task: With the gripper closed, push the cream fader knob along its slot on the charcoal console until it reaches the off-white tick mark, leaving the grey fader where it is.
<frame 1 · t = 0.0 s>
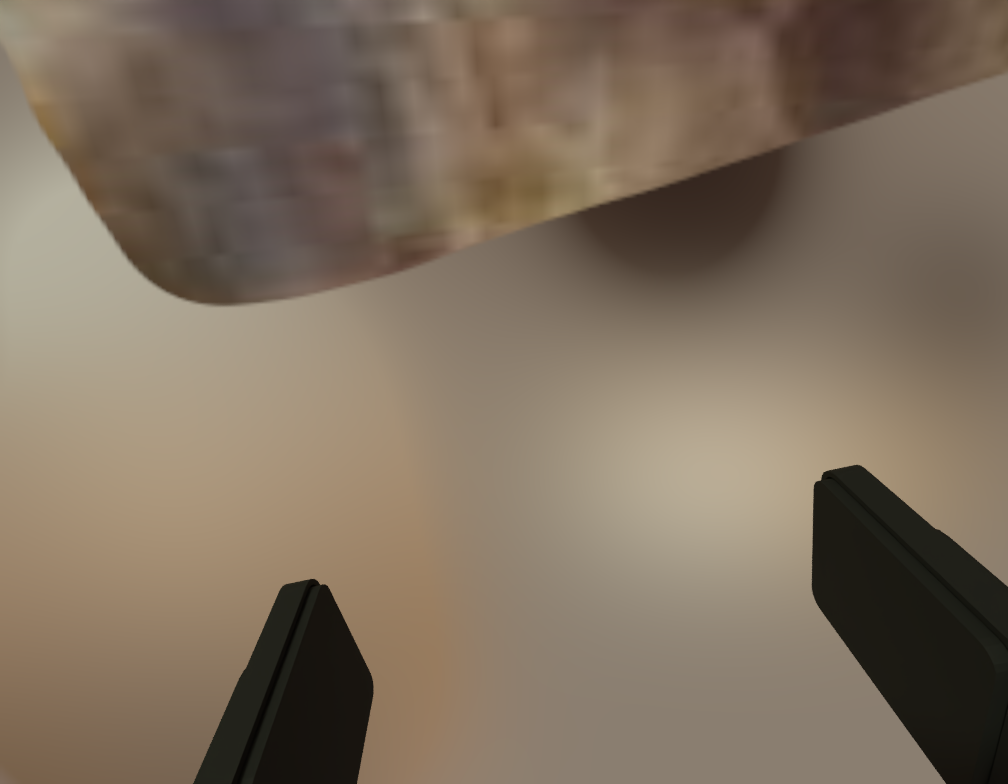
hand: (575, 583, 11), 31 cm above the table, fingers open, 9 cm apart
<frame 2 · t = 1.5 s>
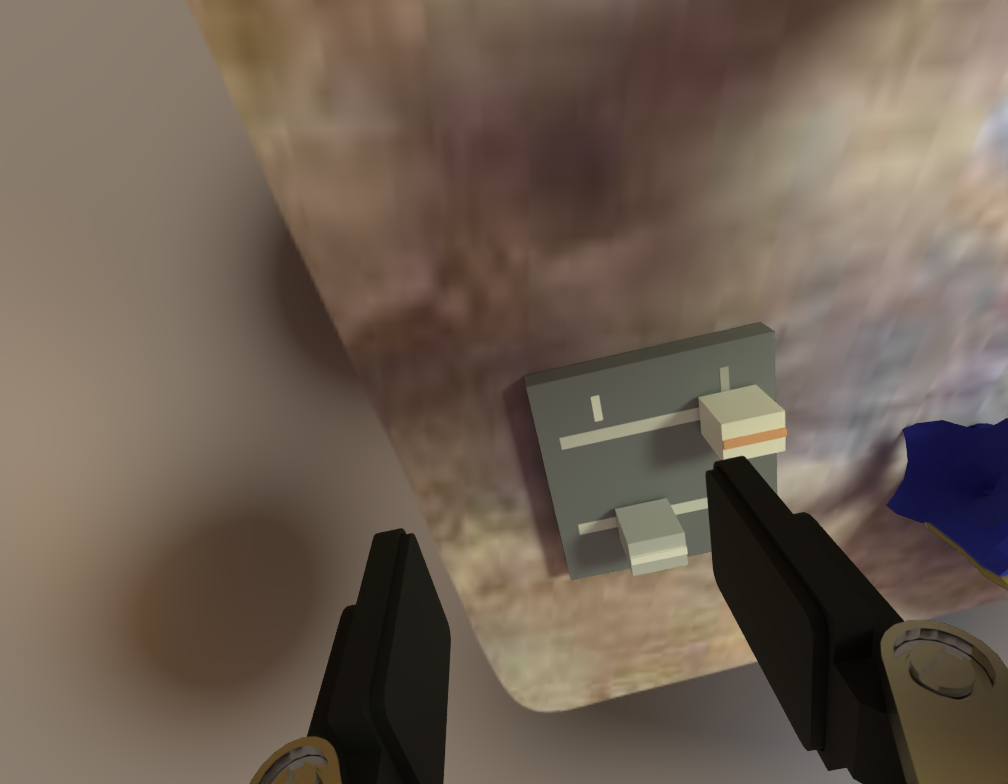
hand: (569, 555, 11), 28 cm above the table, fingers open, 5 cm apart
fader a: (740, 423, 37), point 4 cm above the table, slide at 0.0 cm
fader b: (650, 536, 41), point 4 cm above the table, slide at 0.0 cm
console: (654, 454, 43), on the table
bread: (999, 490, 46), on the table
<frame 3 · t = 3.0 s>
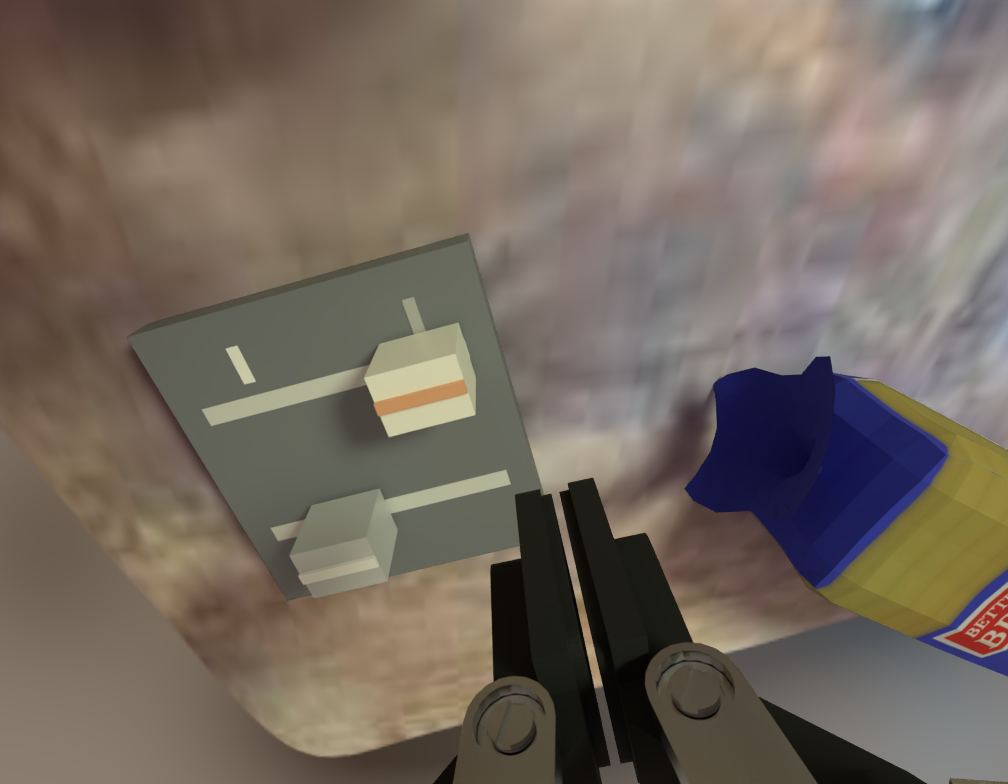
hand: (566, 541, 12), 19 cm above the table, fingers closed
fader a: (424, 378, 25), point 4 cm above the table, slide at 0.0 cm
fader b: (347, 542, 29), point 4 cm above the table, slide at 0.0 cm
console: (370, 429, 31), on the table
bread: (865, 464, 34), on the table
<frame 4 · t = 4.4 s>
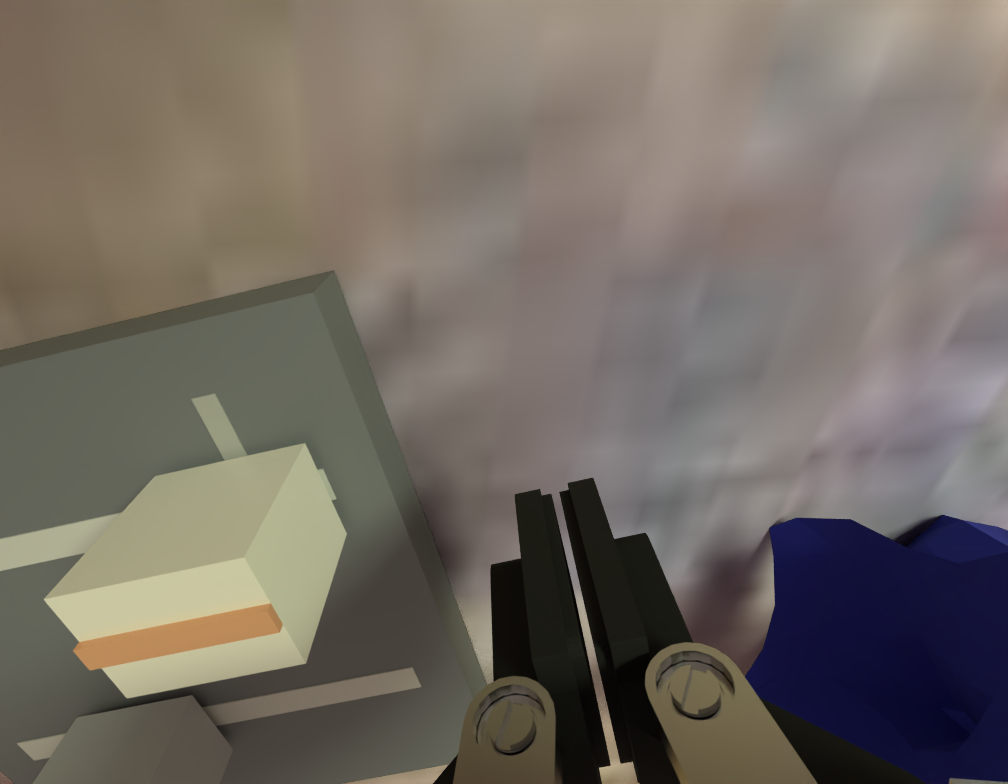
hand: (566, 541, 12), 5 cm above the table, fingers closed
fader a: (221, 563, 13), point 4 cm above the table, slide at 0.0 cm
console: (188, 585, 19), on the table
bread: (987, 638, 22), on the table
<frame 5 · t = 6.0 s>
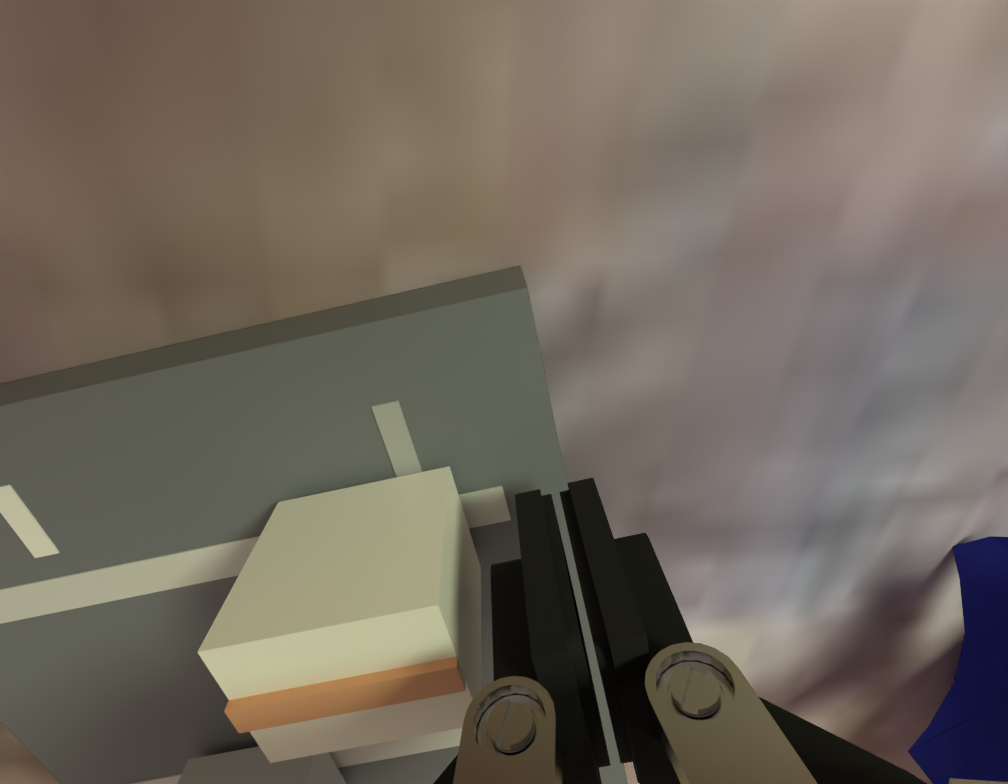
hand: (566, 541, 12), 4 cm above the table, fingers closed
fader a: (367, 604, 11), point 4 cm above the table, slide at 1.0 cm, touching gripper
console: (309, 611, 17), on the table
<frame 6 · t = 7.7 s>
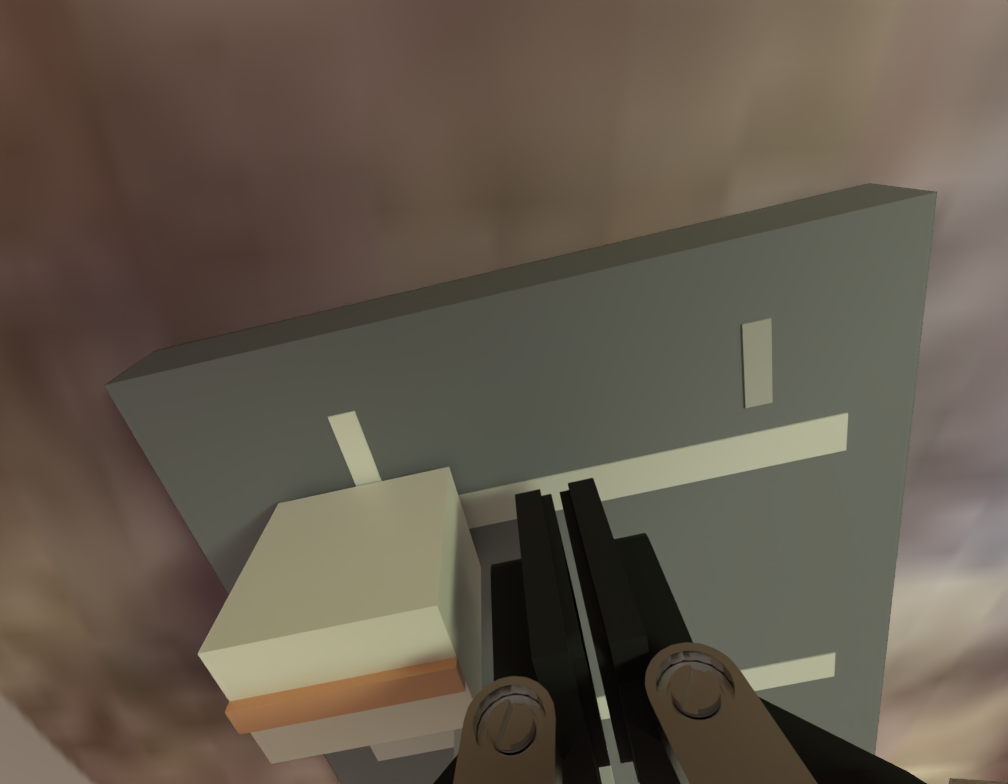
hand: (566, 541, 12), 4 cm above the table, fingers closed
fader a: (367, 605, 11), point 4 cm above the table, slide at 9.0 cm, touching gripper
console: (565, 560, 17), on the table
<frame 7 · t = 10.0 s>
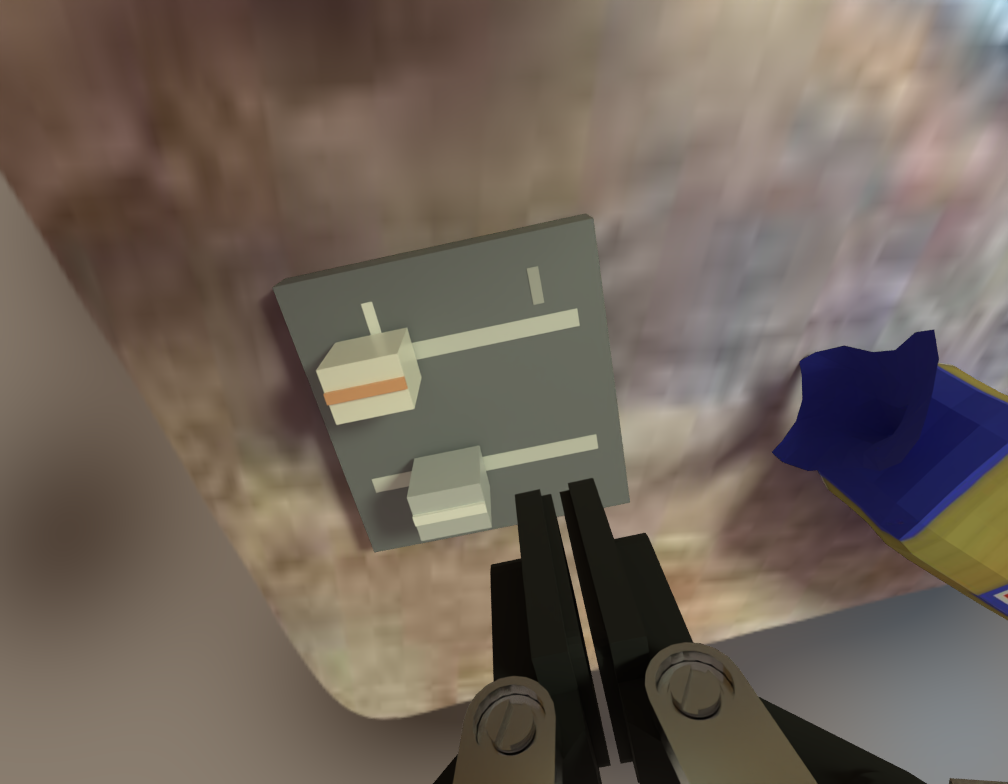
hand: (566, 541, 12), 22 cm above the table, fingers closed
fader a: (372, 375, 28), point 4 cm above the table, slide at 9.2 cm
fader b: (451, 492, 32), point 4 cm above the table, slide at 0.0 cm
console: (470, 392, 34), on the table
bread: (919, 449, 38), on the table
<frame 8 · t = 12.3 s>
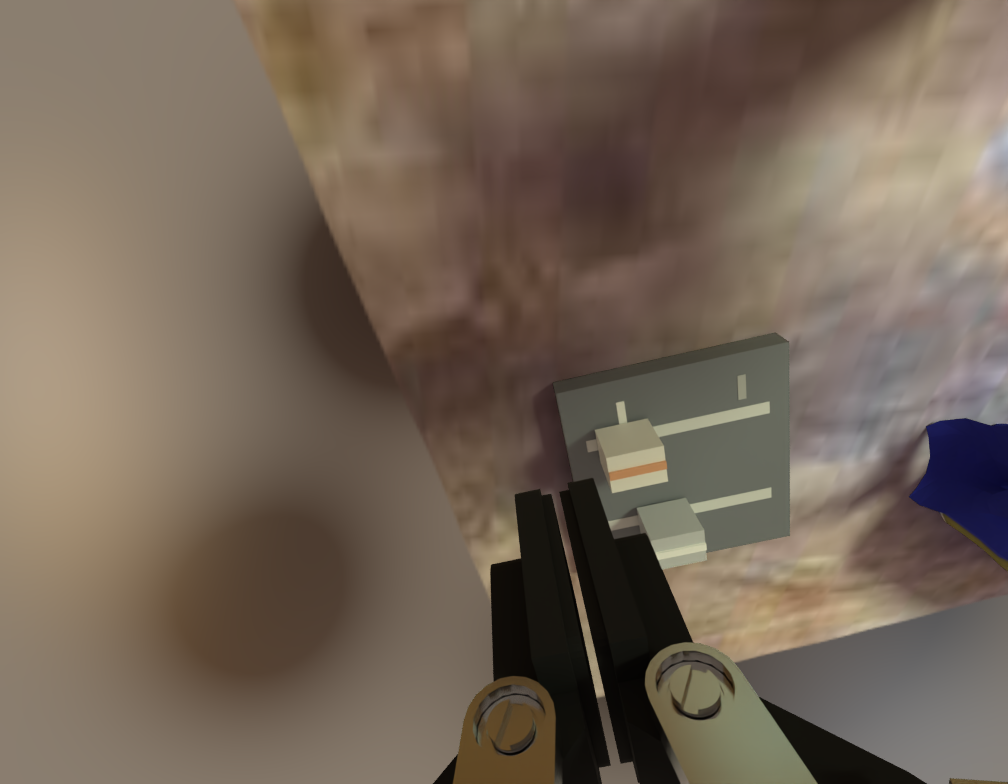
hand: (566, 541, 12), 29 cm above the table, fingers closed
fader a: (630, 455, 40), point 4 cm above the table, slide at 9.2 cm
fader b: (671, 534, 43), point 4 cm above the table, slide at 0.0 cm
console: (673, 456, 45), on the table
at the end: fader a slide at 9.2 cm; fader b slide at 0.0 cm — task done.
